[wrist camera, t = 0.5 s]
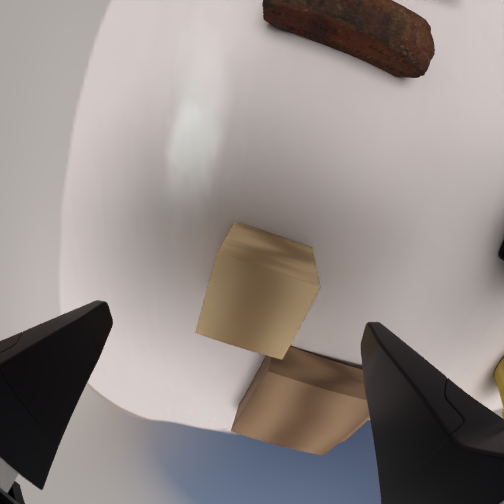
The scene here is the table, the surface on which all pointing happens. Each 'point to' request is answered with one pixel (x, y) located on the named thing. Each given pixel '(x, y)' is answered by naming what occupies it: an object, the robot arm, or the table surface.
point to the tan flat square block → (302, 402)
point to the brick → (360, 30)
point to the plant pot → (500, 381)
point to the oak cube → (258, 291)
